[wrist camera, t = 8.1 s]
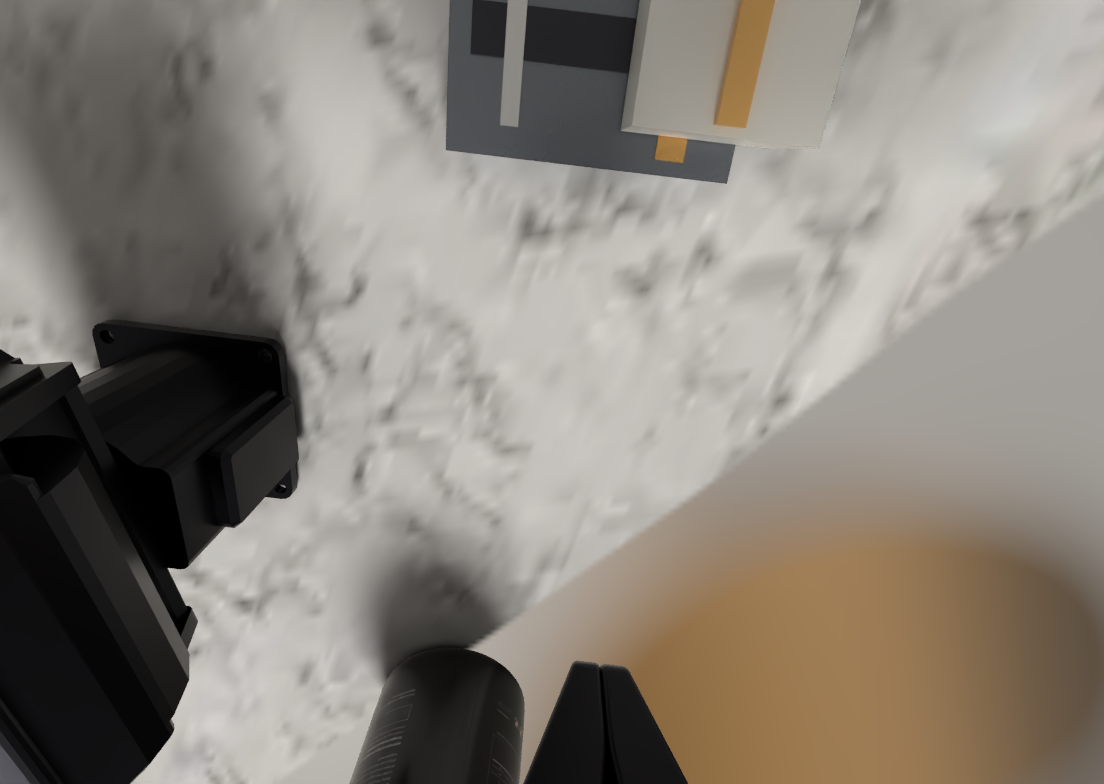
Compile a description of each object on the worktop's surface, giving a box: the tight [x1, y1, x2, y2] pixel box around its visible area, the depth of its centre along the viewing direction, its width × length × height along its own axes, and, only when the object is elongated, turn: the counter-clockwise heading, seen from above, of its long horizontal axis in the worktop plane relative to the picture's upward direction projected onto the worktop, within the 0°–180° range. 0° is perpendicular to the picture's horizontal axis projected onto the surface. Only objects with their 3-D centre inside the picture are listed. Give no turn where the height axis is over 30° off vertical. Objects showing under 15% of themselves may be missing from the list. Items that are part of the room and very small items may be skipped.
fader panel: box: [446, 0, 735, 184], centre depth 15 cm, size 8×6×1 cm
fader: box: [621, 0, 861, 149], centre depth 12 cm, size 4×4×4 cm
